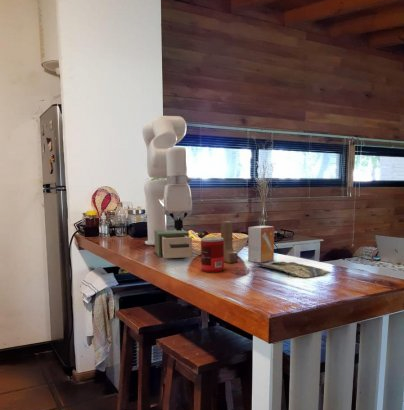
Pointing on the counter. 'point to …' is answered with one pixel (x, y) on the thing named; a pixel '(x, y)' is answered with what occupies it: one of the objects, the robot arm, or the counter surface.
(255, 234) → the small box
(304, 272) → the aerial photo print
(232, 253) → the wooden block
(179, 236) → the drawer
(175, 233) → the cabinet
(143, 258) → the counter surface
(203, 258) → the canned food
